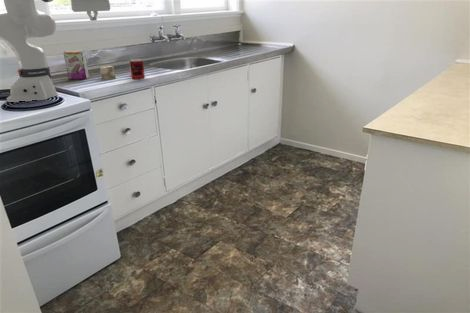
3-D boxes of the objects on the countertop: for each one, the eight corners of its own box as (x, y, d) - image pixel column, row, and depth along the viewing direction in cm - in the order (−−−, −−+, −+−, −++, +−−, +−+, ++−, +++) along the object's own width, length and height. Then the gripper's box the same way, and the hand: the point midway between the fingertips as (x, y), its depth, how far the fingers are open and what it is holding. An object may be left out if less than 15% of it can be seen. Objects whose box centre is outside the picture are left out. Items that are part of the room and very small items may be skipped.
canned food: (139, 76, 222) (137, 58, 218) (147, 77, 217) (145, 59, 213) (129, 78, 217) (126, 60, 212) (136, 79, 212) (134, 61, 207)
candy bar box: (68, 79, 218) (62, 52, 211) (71, 78, 222) (66, 51, 216) (86, 79, 218) (81, 51, 211) (89, 77, 222) (84, 50, 216)
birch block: (106, 79, 215) (104, 67, 213) (101, 78, 219) (99, 66, 216) (115, 77, 220) (113, 66, 217) (110, 76, 223) (108, 65, 220)
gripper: (72, -8, 176) (77, 21, 182) (109, -8, 190) (113, 19, 196) (66, -8, 180) (72, 21, 186) (103, -8, 194) (107, 19, 199)
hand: (93, 20), depth 191 cm, fingers closed
